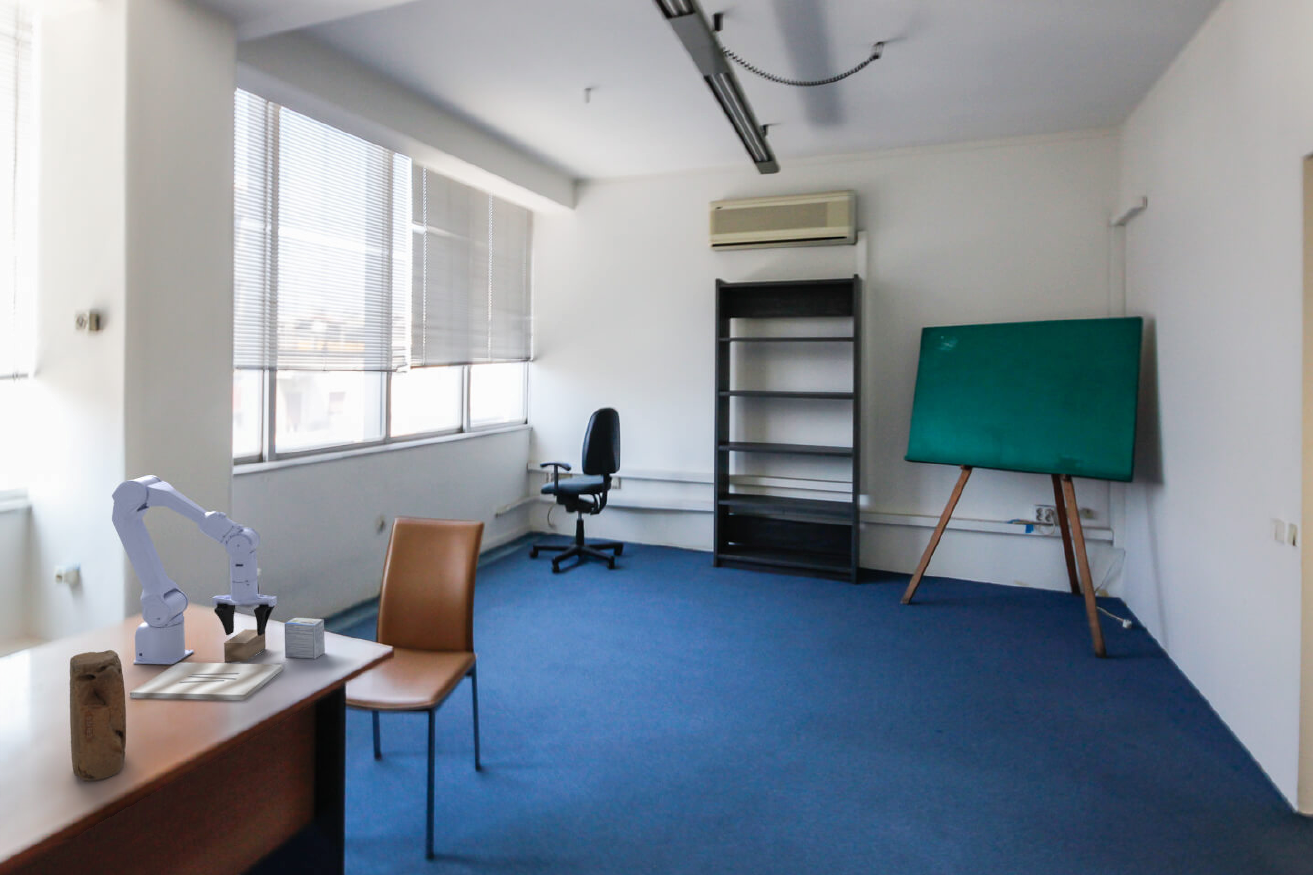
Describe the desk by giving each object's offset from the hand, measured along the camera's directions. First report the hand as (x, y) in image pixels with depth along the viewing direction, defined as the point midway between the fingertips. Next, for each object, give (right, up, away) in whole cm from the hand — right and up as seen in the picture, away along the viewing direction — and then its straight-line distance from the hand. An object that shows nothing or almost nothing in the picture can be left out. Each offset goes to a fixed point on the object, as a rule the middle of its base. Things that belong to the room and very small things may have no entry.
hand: (245, 633), depth 176 cm
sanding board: (+1, -7, -16) cm, 17 cm away
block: (+3, -10, -50) cm, 51 cm away
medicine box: (+14, -6, +2) cm, 15 cm away
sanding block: (0, -6, 0) cm, 6 cm away
